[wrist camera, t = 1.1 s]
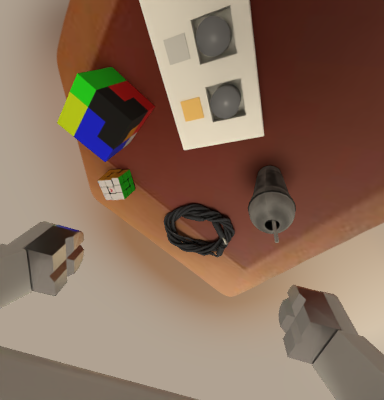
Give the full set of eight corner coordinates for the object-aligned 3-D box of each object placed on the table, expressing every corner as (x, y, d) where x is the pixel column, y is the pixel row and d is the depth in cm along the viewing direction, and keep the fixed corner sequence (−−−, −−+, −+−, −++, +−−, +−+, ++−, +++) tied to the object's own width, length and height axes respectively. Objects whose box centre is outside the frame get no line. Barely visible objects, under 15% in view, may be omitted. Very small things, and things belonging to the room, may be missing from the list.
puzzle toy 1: (130, 142, 50) (105, 162, 42) (91, 109, 48) (57, 123, 40) (155, 106, 44) (131, 121, 36) (112, 66, 42) (77, 73, 34)
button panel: (235, -131, 27) (230, -163, 22) (263, 126, 42) (264, 136, 37) (131, -72, 31) (111, -89, 27) (190, 140, 46) (183, 150, 42)
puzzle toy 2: (136, 188, 57) (125, 201, 52) (118, 189, 58) (106, 201, 54) (128, 167, 54) (116, 179, 49) (109, 168, 55) (96, 180, 51)
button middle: (228, 12, 32) (225, 10, 29) (234, 49, 34) (231, 51, 31) (198, 24, 33) (192, 22, 30) (205, 59, 35) (200, 60, 33)
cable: (160, 228, 63) (154, 239, 59) (177, 189, 54) (171, 199, 51) (218, 254, 63) (216, 267, 60) (243, 220, 55) (242, 232, 51)
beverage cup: (245, 186, 49) (238, 257, 33) (257, 154, 45) (255, 219, 29) (280, 195, 48) (289, 272, 32) (295, 164, 44) (314, 236, 28)
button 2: (238, 80, 36) (236, 84, 33) (243, 109, 38) (241, 115, 35) (211, 87, 37) (207, 91, 35) (216, 115, 40) (213, 121, 37)
